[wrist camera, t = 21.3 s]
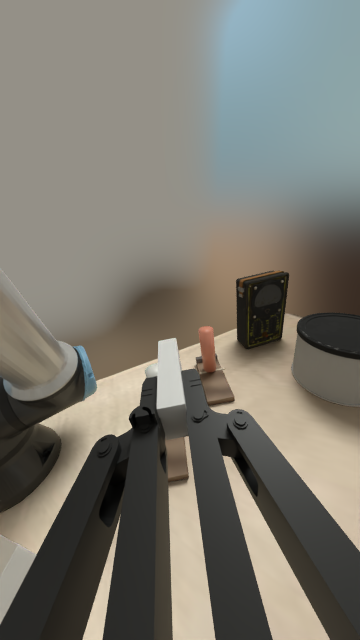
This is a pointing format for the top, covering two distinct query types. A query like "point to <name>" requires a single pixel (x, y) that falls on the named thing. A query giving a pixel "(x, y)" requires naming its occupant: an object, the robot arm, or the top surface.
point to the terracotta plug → (207, 348)
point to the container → (329, 357)
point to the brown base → (214, 384)
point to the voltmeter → (261, 307)
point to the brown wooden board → (176, 459)
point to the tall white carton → (12, 571)
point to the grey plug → (152, 370)
